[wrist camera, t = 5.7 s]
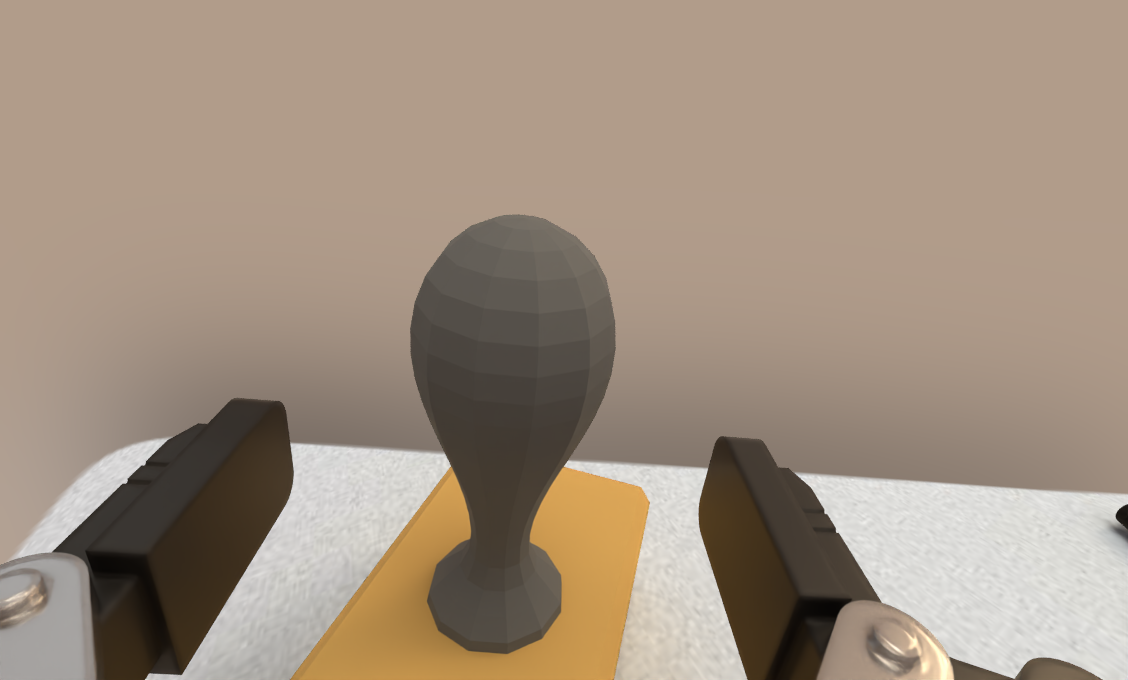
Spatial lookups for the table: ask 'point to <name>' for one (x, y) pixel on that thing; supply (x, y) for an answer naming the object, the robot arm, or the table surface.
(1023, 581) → the table surface
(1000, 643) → the table surface
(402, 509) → the table surface
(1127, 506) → the pen
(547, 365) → the rubber stamp
